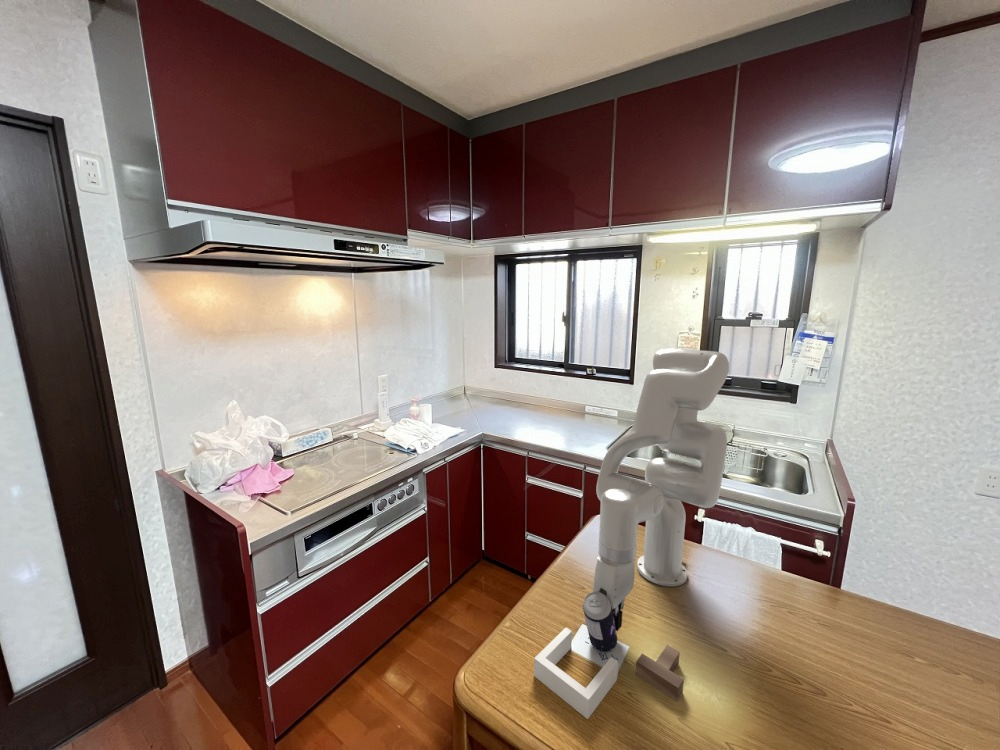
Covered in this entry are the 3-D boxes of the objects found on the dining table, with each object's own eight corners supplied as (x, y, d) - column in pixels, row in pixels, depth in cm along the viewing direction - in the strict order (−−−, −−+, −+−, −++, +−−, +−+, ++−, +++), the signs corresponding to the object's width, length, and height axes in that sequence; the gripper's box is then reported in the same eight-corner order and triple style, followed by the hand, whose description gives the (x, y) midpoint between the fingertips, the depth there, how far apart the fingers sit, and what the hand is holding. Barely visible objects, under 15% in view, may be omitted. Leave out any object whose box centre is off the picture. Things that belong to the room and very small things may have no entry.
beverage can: (618, 655, 82) (611, 616, 77) (590, 654, 84) (581, 615, 79) (616, 628, 87) (610, 590, 82) (590, 627, 89) (582, 589, 84)
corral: (565, 643, 86) (565, 627, 85) (617, 679, 78) (618, 661, 77) (534, 675, 78) (534, 658, 78) (587, 719, 70) (588, 699, 69)
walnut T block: (652, 649, 84) (653, 637, 84) (693, 673, 79) (694, 660, 78) (635, 674, 79) (636, 661, 78) (677, 702, 73) (678, 687, 73)
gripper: (618, 527, 92) (614, 599, 96) (582, 556, 82) (579, 635, 85) (649, 541, 87) (644, 616, 90) (616, 573, 77) (611, 657, 80)
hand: (612, 625), depth 88 cm, fingers closed
